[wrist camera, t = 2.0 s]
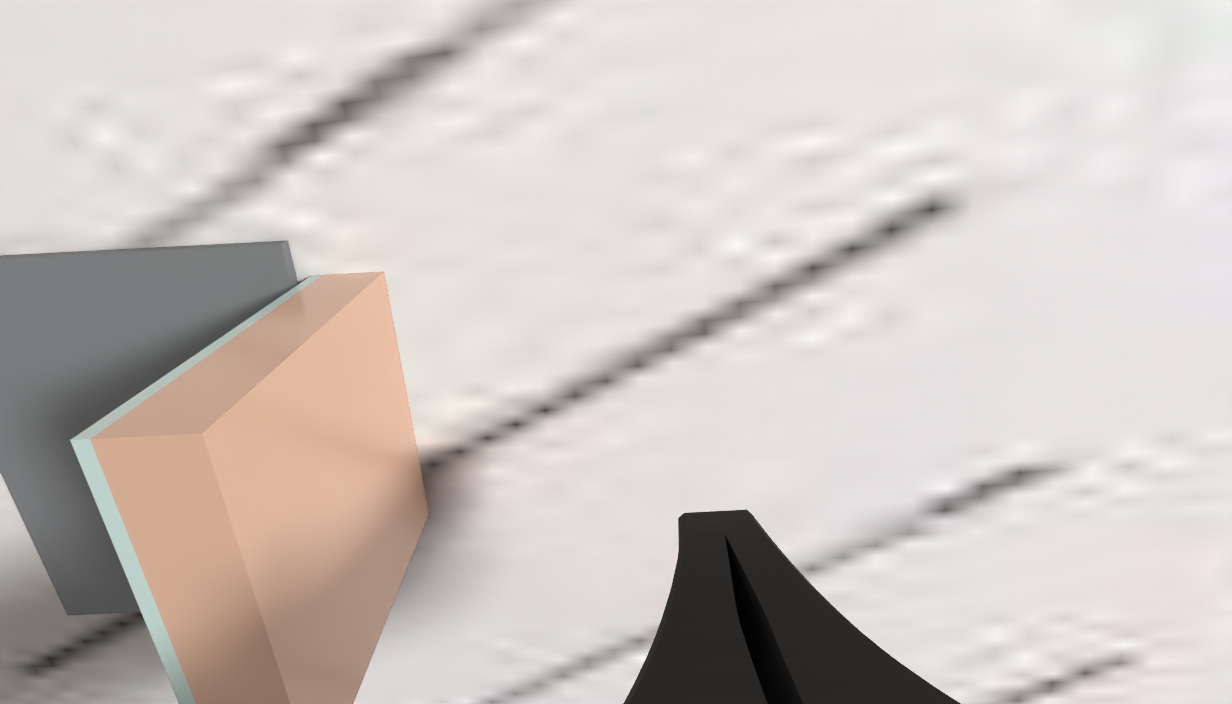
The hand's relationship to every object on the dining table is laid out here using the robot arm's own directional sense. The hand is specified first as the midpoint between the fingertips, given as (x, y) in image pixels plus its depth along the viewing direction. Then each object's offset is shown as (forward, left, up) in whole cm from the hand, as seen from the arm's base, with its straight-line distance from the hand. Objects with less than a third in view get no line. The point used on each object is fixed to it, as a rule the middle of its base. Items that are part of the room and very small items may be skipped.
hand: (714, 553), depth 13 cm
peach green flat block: (0, +9, -8) cm, 12 cm away
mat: (-1, +15, -7) cm, 17 cm away
